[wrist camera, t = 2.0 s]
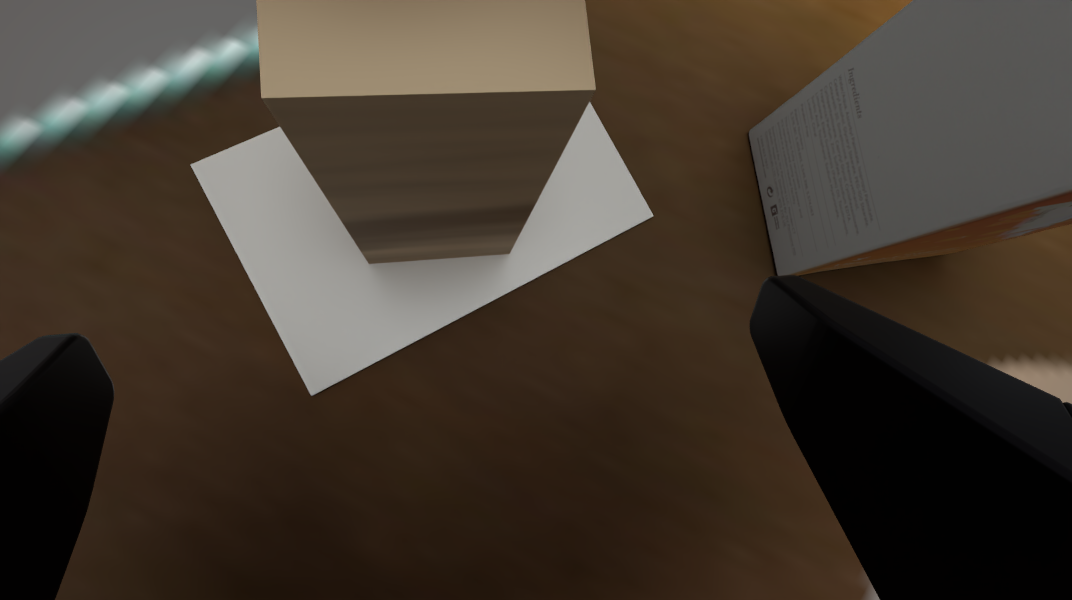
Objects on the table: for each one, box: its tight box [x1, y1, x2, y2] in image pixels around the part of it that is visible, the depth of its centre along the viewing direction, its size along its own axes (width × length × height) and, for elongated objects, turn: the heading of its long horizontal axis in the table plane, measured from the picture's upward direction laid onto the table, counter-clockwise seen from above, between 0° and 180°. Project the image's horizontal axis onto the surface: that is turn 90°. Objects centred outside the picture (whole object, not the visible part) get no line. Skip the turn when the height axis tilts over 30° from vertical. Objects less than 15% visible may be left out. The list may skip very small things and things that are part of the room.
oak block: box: [257, 0, 596, 264], centre depth 15 cm, size 5×5×12 cm
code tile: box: [191, 102, 653, 396], centre depth 22 cm, size 14×9×1 cm, turn 119°
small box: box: [749, 0, 1072, 276], centre depth 18 cm, size 8×6×13 cm
